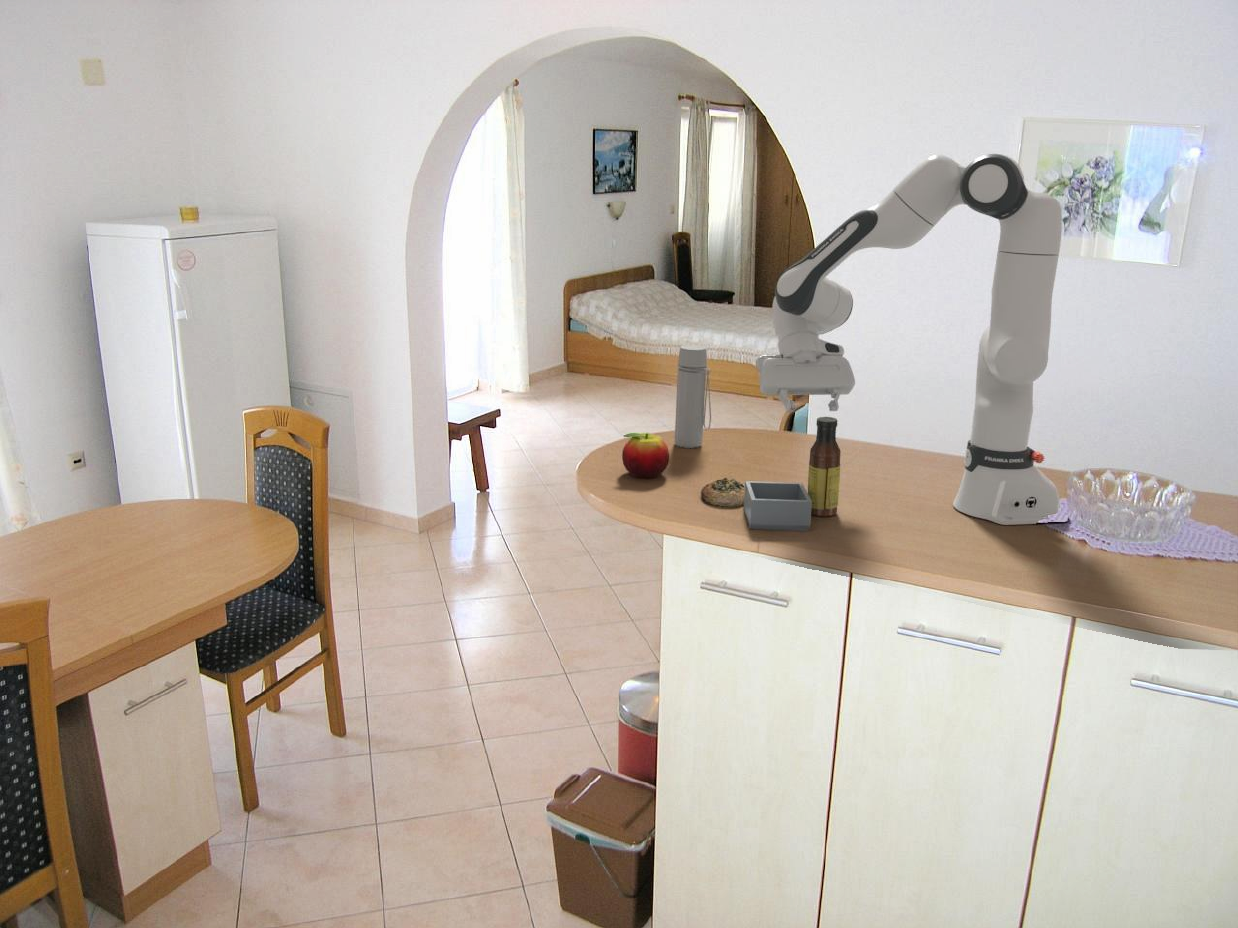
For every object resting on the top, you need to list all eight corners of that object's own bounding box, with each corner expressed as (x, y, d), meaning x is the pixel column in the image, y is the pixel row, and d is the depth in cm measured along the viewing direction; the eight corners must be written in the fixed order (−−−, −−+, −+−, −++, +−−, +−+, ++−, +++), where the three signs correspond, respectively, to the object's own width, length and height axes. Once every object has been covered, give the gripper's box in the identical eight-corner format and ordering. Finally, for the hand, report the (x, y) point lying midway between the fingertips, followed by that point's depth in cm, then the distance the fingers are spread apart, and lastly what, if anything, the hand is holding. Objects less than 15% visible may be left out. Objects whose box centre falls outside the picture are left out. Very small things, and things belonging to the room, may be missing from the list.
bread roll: (707, 487, 209) (711, 466, 207) (756, 501, 206) (760, 479, 204) (692, 504, 199) (696, 482, 197) (743, 519, 196) (748, 497, 194)
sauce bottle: (835, 508, 198) (844, 415, 192) (838, 518, 192) (848, 423, 186) (803, 506, 198) (811, 414, 193) (806, 516, 192) (814, 421, 187)
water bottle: (669, 447, 238) (673, 348, 231) (679, 439, 245) (684, 343, 238) (704, 452, 235) (710, 352, 228) (713, 444, 242) (719, 347, 235)
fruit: (673, 481, 212) (674, 438, 209) (625, 482, 211) (626, 439, 208) (663, 467, 222) (665, 425, 220) (617, 468, 221) (618, 426, 218)
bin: (799, 510, 196) (802, 482, 194) (809, 530, 185) (812, 501, 183) (743, 508, 196) (745, 481, 194) (749, 529, 185) (751, 499, 183)
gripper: (758, 346, 201) (768, 402, 194) (850, 346, 204) (863, 401, 197) (750, 363, 206) (760, 418, 200) (840, 363, 209) (853, 417, 203)
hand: (812, 410), depth 199 cm, fingers open, 8 cm apart
